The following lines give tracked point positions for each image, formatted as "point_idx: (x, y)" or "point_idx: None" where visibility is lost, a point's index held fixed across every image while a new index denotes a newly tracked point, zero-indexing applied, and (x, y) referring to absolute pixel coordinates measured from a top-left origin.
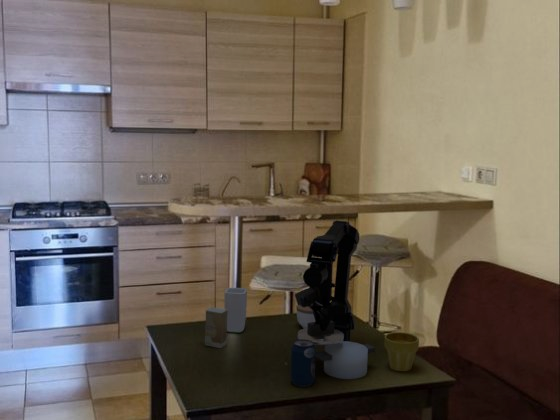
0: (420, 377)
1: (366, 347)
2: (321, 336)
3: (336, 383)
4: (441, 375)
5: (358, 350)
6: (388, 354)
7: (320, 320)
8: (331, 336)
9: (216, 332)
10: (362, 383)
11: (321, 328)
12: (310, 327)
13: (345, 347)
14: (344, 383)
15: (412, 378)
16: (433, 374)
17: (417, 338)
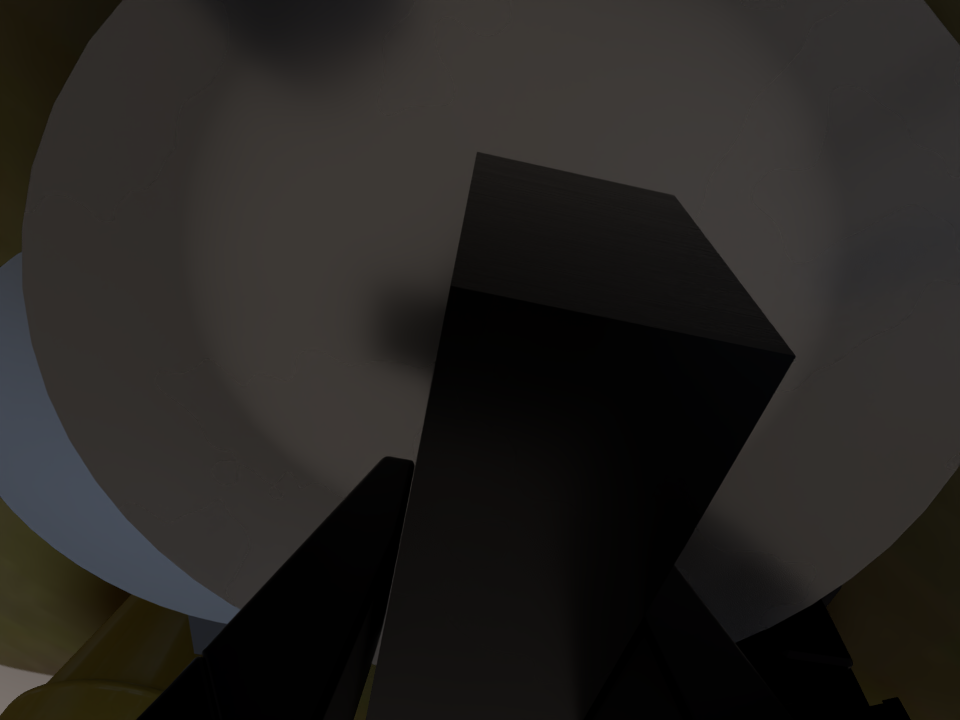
0: (27, 589)
1: (183, 612)
2: (366, 350)
3: (56, 47)
4: (30, 661)
5: (124, 522)
6: (174, 650)
7: (604, 717)
8: (280, 477)
9: None
10: (3, 259)
11: (395, 491)
12: (531, 251)
13: None
14: (37, 121)
15: (22, 554)
16: (53, 648)
17: None
